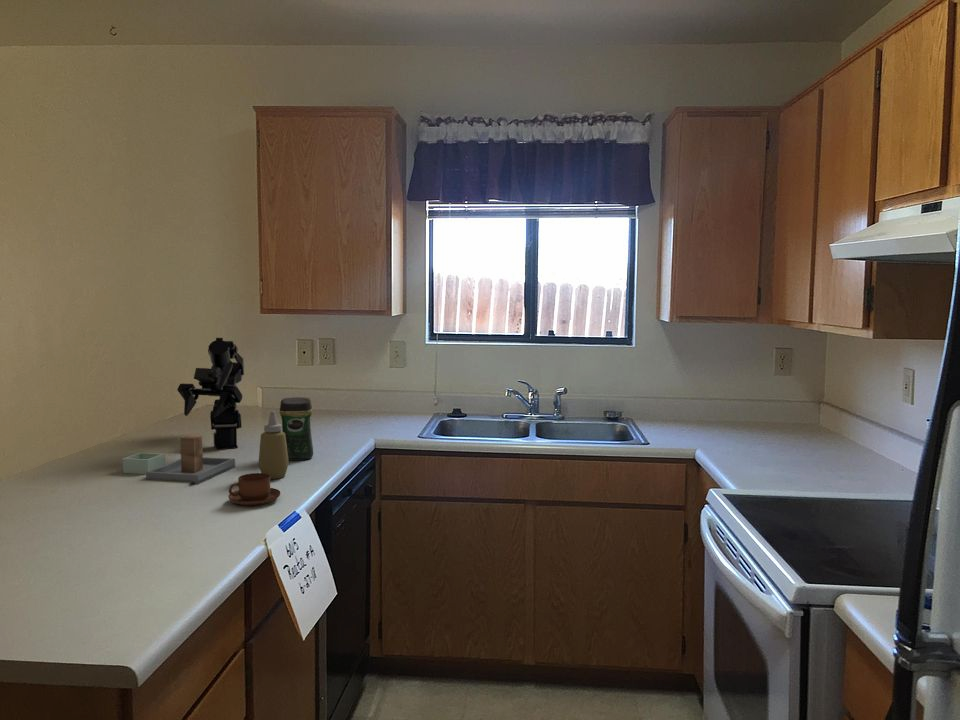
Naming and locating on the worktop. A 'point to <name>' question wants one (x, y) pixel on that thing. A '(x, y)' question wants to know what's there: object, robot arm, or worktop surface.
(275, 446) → the squeeze bottle
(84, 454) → the worktop surface
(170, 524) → the worktop surface
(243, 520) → the worktop surface
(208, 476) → the tray
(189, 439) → the square block
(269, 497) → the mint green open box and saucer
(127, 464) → the mint green open box
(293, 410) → the coffee jar
